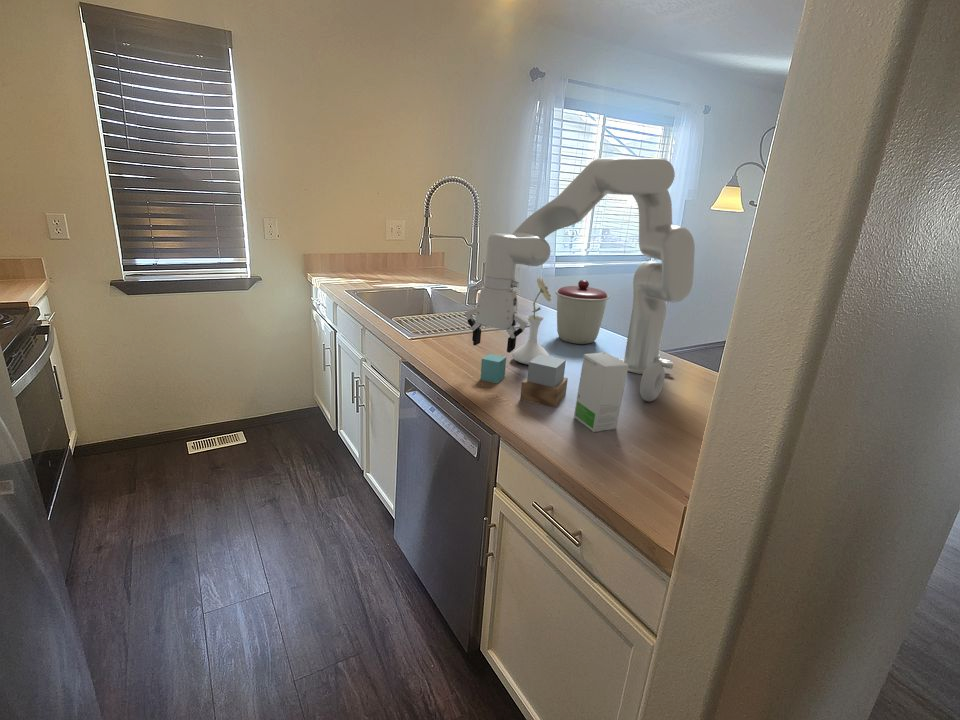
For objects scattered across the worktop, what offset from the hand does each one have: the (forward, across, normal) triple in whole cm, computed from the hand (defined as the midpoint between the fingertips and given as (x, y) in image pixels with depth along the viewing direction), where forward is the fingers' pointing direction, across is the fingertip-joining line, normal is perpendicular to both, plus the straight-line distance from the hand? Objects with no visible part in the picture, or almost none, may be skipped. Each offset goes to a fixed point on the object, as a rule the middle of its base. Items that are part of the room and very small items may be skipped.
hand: (493, 347), depth 137 cm
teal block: (+9, 0, 0) cm, 9 cm away
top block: (+4, -16, +5) cm, 18 cm away
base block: (+9, -16, +4) cm, 19 cm away
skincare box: (+9, -32, +12) cm, 35 cm away
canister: (+8, -10, -52) cm, 53 cm away
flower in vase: (+9, -4, -20) cm, 23 cm away
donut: (+8, -40, -8) cm, 42 cm away
